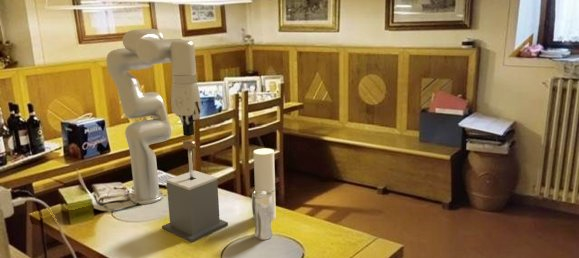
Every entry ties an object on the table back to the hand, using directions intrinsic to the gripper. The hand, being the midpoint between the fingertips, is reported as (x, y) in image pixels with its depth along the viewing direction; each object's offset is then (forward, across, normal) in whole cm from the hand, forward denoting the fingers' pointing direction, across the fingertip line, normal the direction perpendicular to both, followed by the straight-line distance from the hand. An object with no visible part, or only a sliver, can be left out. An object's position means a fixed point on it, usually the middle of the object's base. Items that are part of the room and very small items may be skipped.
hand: (188, 134), depth 157 cm
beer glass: (+34, +23, +10) cm, 42 cm away
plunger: (+19, 0, 0) cm, 19 cm away
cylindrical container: (+34, +14, +21) cm, 42 cm away
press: (+33, 0, 0) cm, 33 cm away
